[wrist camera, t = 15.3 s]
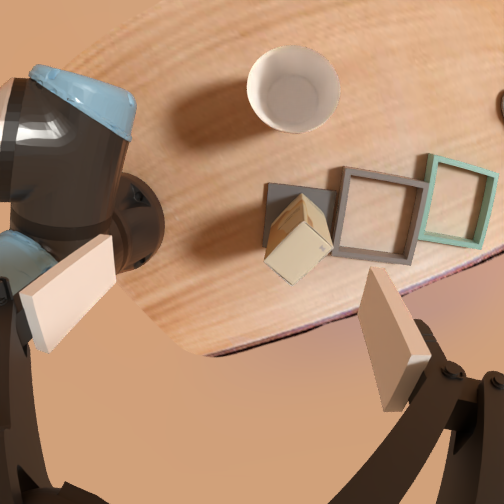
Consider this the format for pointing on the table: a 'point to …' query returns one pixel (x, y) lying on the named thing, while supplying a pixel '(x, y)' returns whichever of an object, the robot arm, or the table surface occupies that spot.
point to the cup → (293, 89)
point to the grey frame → (414, 225)
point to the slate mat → (286, 194)
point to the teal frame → (484, 212)
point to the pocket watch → (502, 105)
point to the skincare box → (297, 240)
